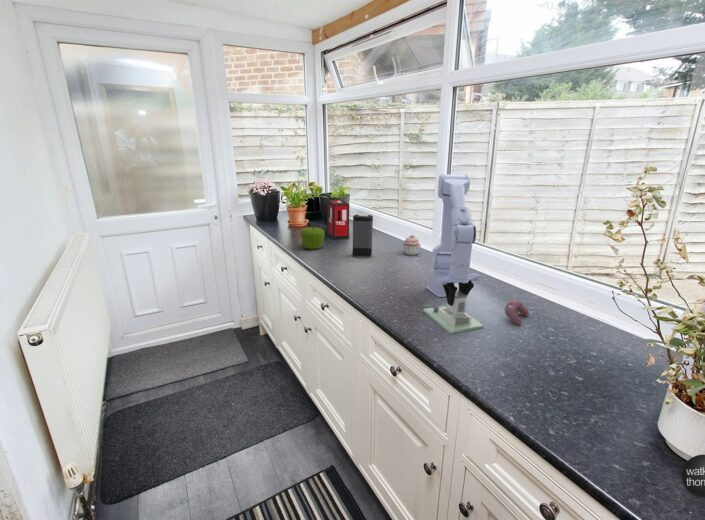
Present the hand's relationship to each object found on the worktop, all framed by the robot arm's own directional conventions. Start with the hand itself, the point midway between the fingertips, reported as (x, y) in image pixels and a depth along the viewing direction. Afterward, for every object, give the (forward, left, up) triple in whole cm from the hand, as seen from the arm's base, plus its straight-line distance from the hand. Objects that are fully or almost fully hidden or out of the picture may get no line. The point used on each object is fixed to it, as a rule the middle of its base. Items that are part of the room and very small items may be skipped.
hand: (455, 303), depth 118 cm
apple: (-93, -24, -6) cm, 96 cm away
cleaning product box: (-114, -4, -6) cm, 114 cm away
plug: (0, 0, -2) cm, 2 cm away
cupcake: (-69, +21, -6) cm, 72 cm away
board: (-1, 0, -6) cm, 6 cm away
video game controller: (+5, +21, -6) cm, 22 cm away
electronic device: (-73, -4, -6) cm, 73 cm away
